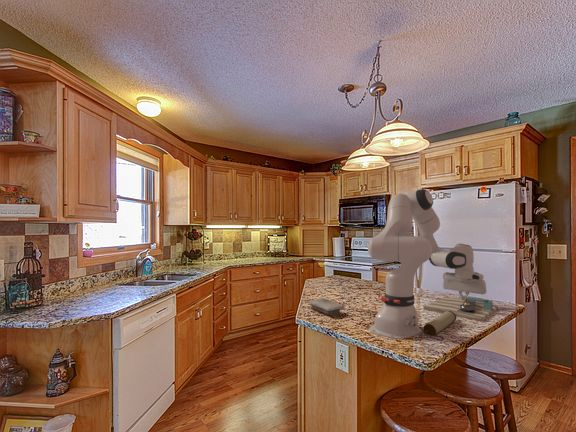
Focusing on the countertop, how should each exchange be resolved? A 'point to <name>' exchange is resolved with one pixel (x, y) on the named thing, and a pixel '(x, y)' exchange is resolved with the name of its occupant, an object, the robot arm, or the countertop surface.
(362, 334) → the countertop surface
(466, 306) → the lever
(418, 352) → the countertop surface
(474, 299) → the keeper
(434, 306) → the board
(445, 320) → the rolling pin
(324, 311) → the packaged product
